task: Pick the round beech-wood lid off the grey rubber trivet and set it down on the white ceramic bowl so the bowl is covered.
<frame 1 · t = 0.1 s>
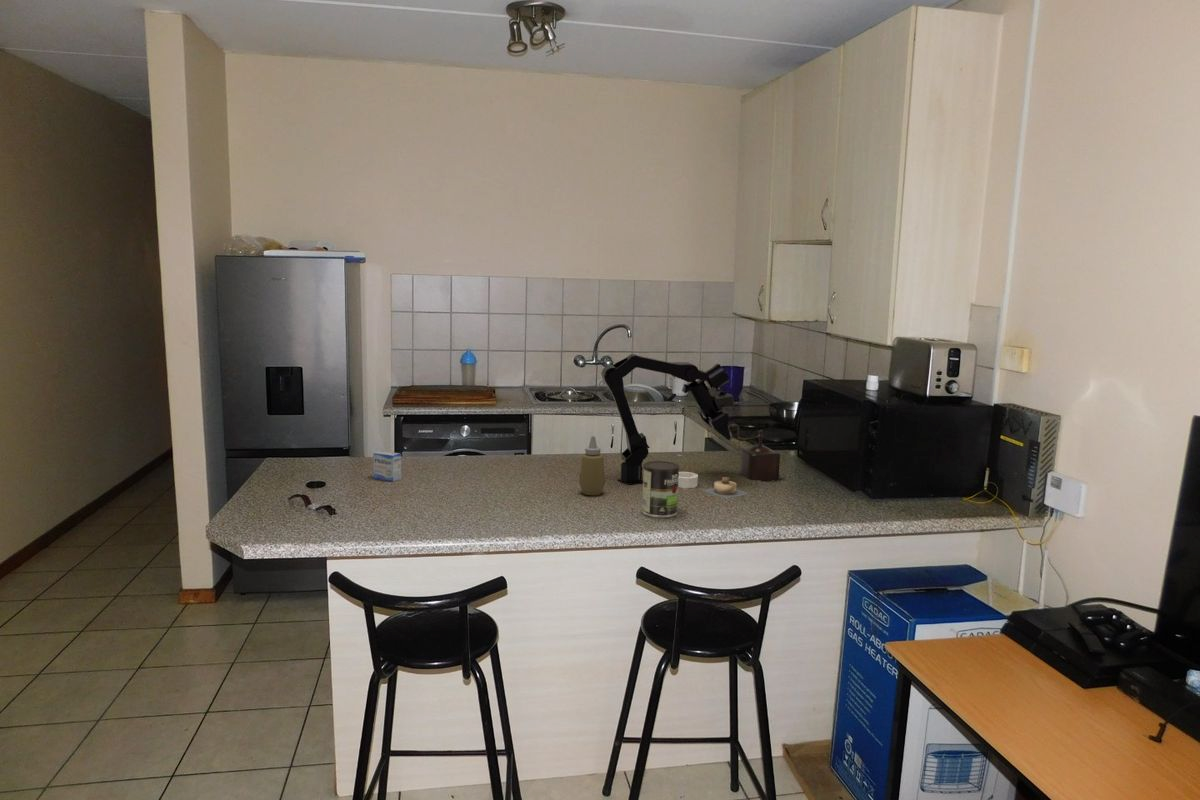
hand: (725, 436, 263), 15 cm above the worktop, tool tilted 30°, fingers open, 9 cm apart
bowl: (684, 487, 257), on the worktop
coffee can: (659, 513, 229), on the worktop
medicine box: (387, 479, 258), on the worktop
lid: (725, 492, 250), point 1 cm above the worktop, touching trivet
pepper mill: (751, 478, 270), on the worktop
trivet: (724, 493, 250), on the worktop
squeeze bottle: (591, 493, 247), on the worktop
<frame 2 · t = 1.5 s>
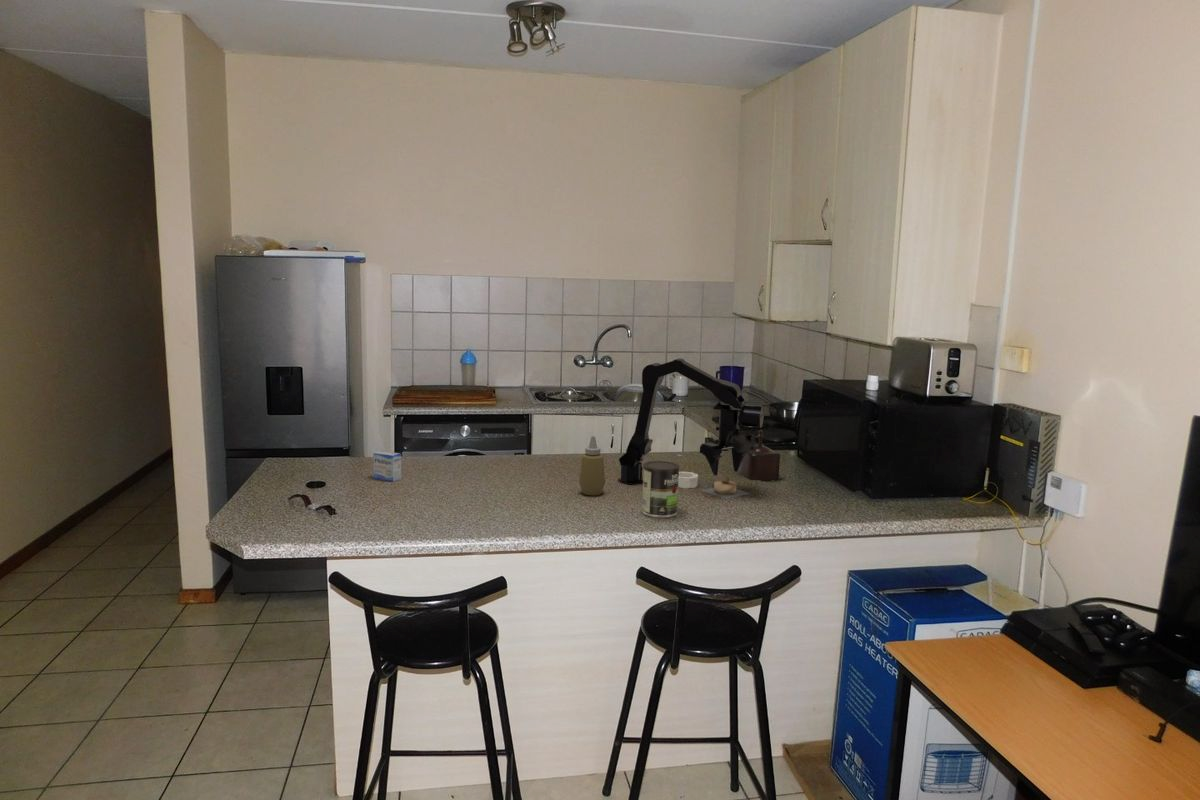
hand: (725, 473, 249), 7 cm above the worktop, tool pointing down, fingers open, 9 cm apart
nothing on the worktop moved.
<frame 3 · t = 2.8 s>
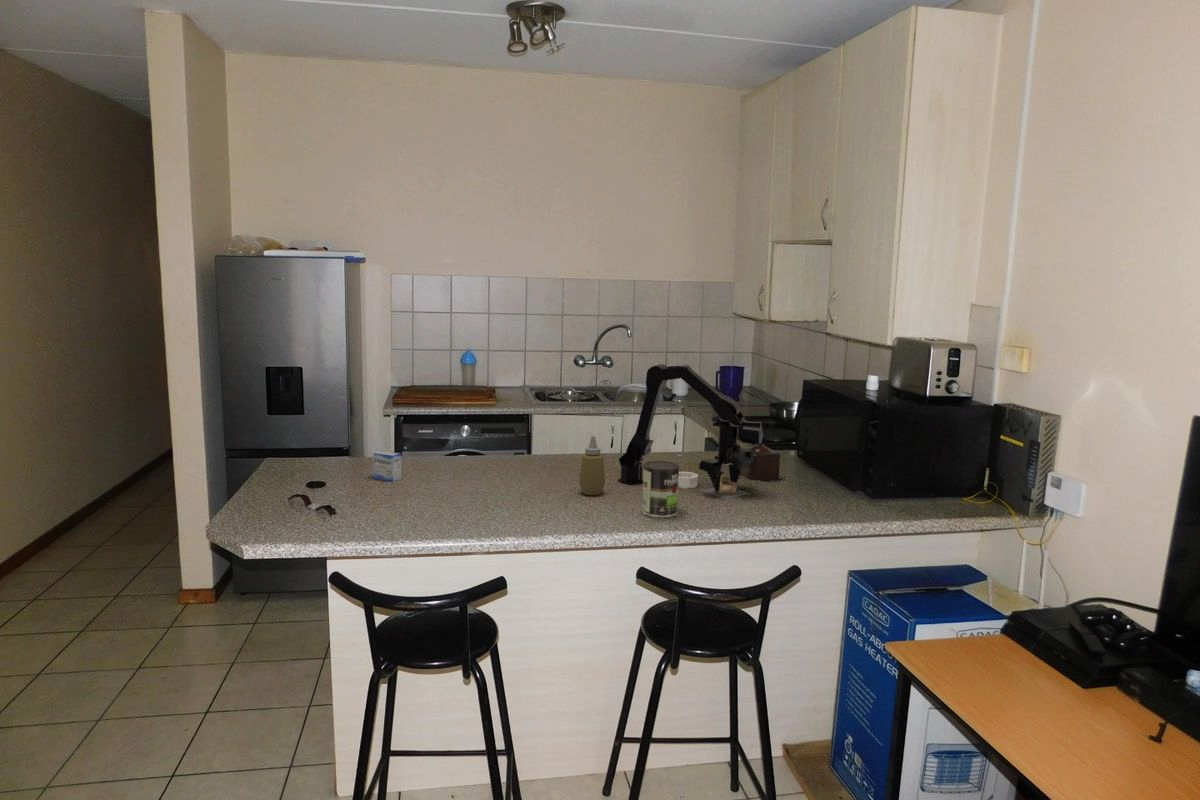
hand: (725, 489, 250), 1 cm above the worktop, tool pointing down, fingers closed on lid, 7 cm apart
lid: (725, 491, 250), point 1 cm above the worktop, touching gripper, trivet
everything else where it was.
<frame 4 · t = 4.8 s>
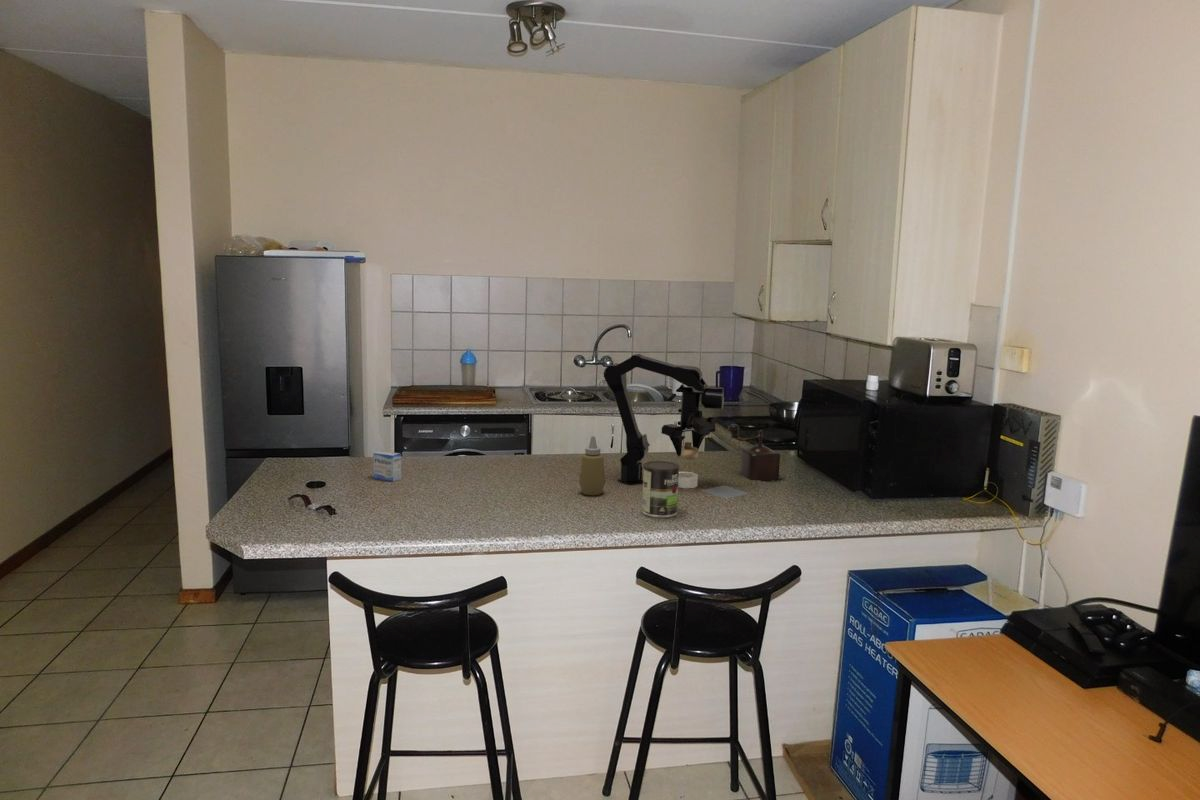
hand: (687, 454, 255), 11 cm above the worktop, tool pointing down, fingers closed on lid, 7 cm apart
lid: (687, 456, 255), point 10 cm above the worktop, touching gripper
everything else where it was.
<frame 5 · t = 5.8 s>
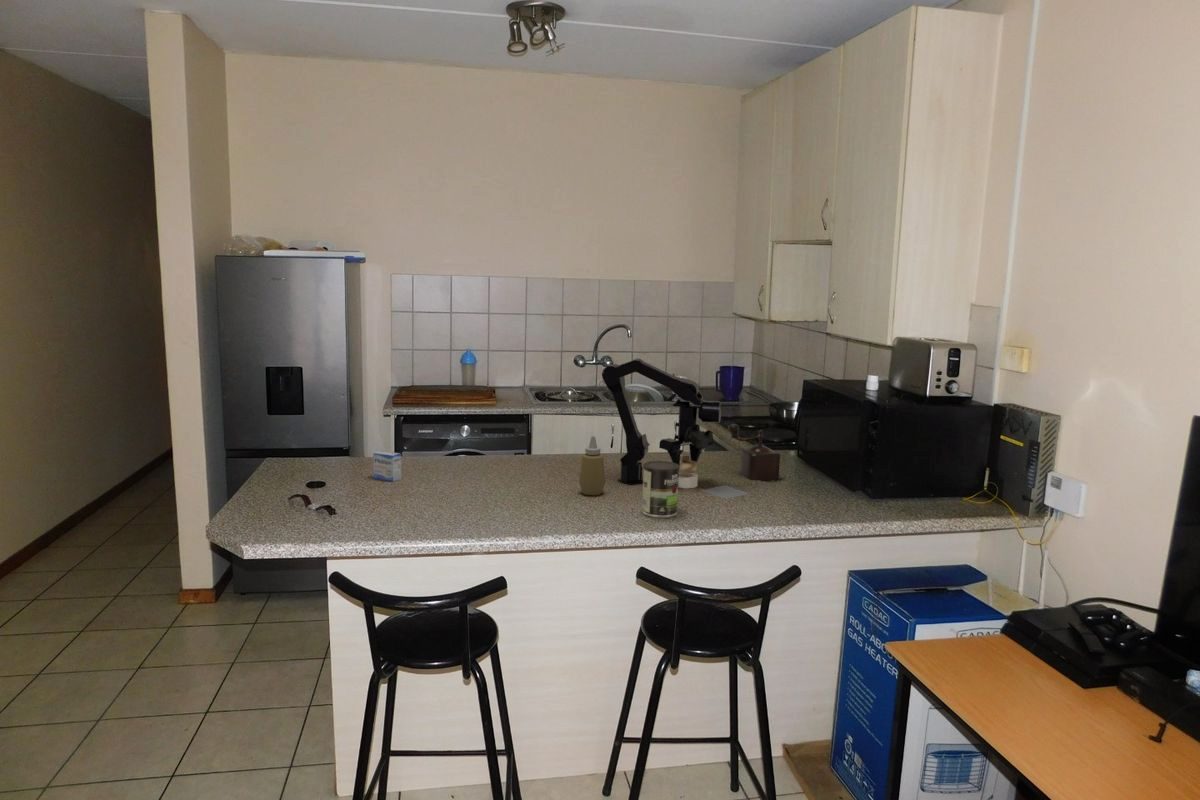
hand: (685, 468, 256), 6 cm above the worktop, tool pointing down, fingers closed on lid, 7 cm apart
lid: (685, 470, 256), point 5 cm above the worktop, touching gripper
everything else where it was.
when the fingers open (6 cm above the worktop, at t = 6.7 s): lid drops 1 cm, point 4 cm above the worktop.
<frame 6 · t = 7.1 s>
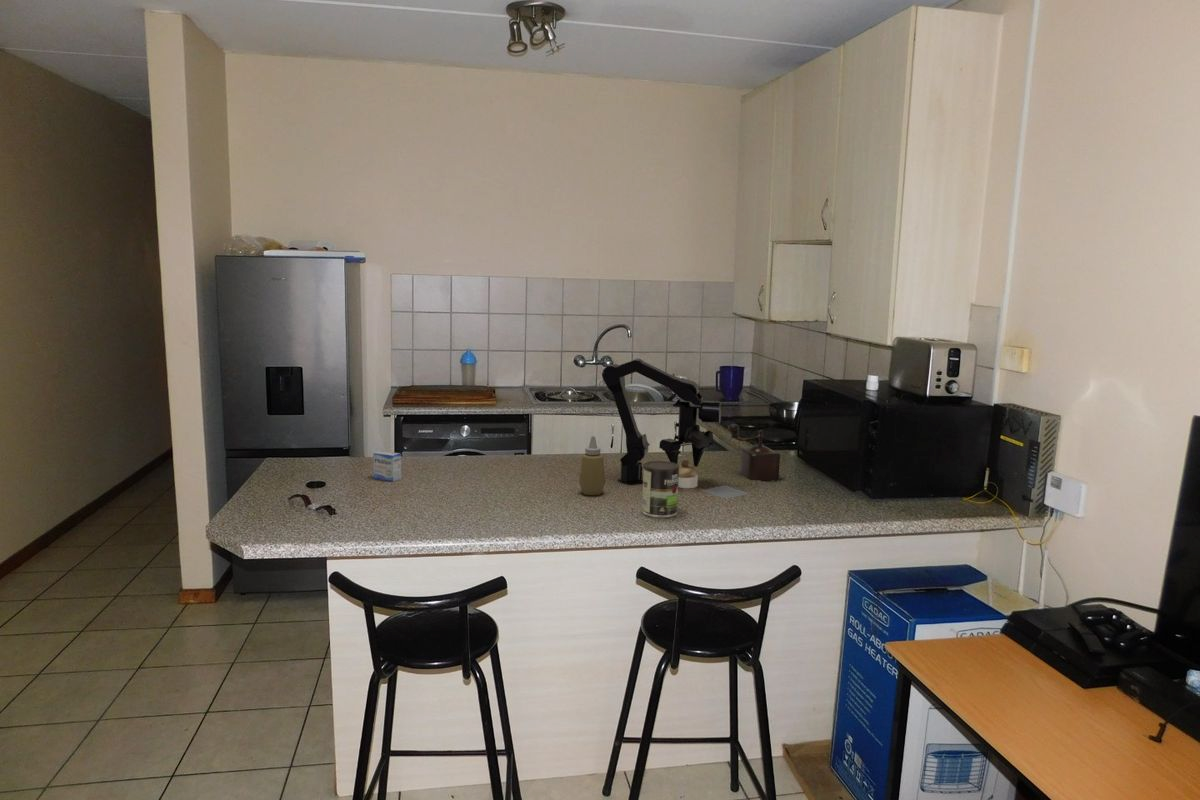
hand: (685, 468, 256), 6 cm above the worktop, tool pointing down, fingers open, 9 cm apart
lid: (684, 475, 256), point 4 cm above the worktop
everything else where it was.
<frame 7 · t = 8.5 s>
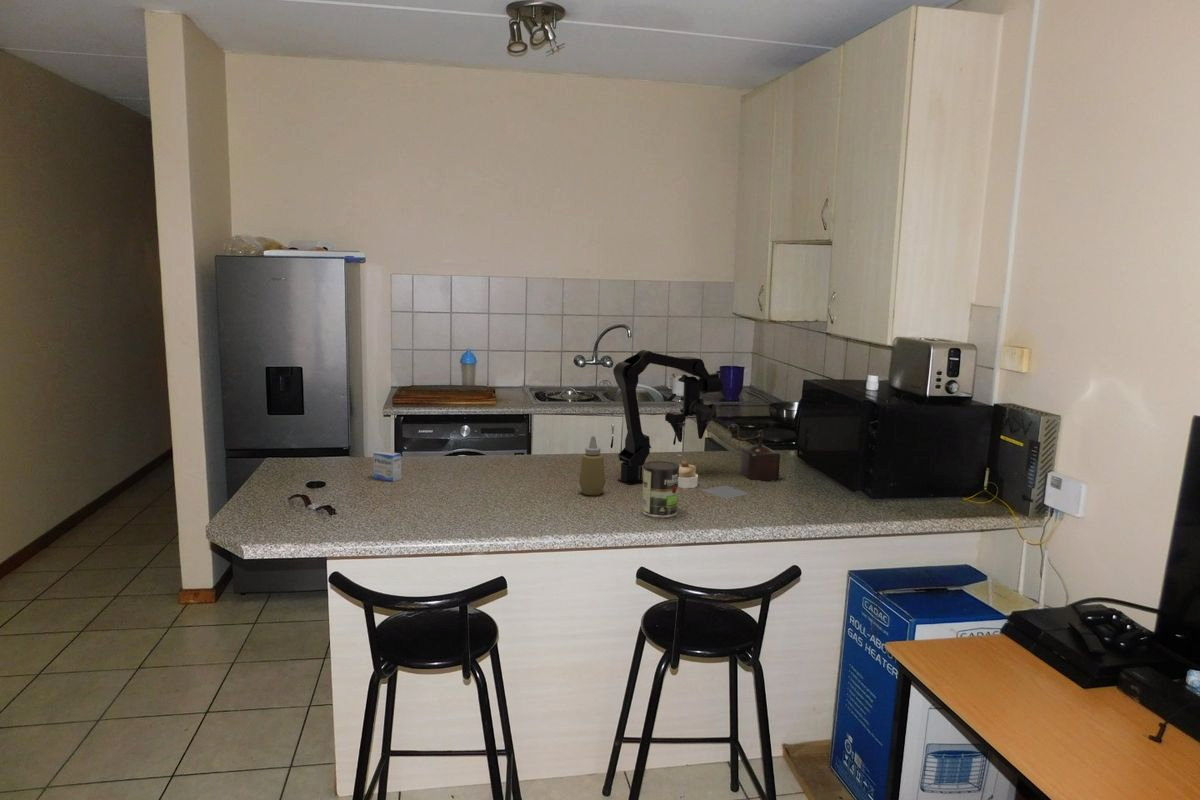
hand: (690, 440, 269), 12 cm above the worktop, tool pointing down, fingers open, 9 cm apart
bowl: (684, 486, 257), on the worktop, touching lid
lid: (684, 474, 256), point 4 cm above the worktop, touching bowl
everything else where it was.
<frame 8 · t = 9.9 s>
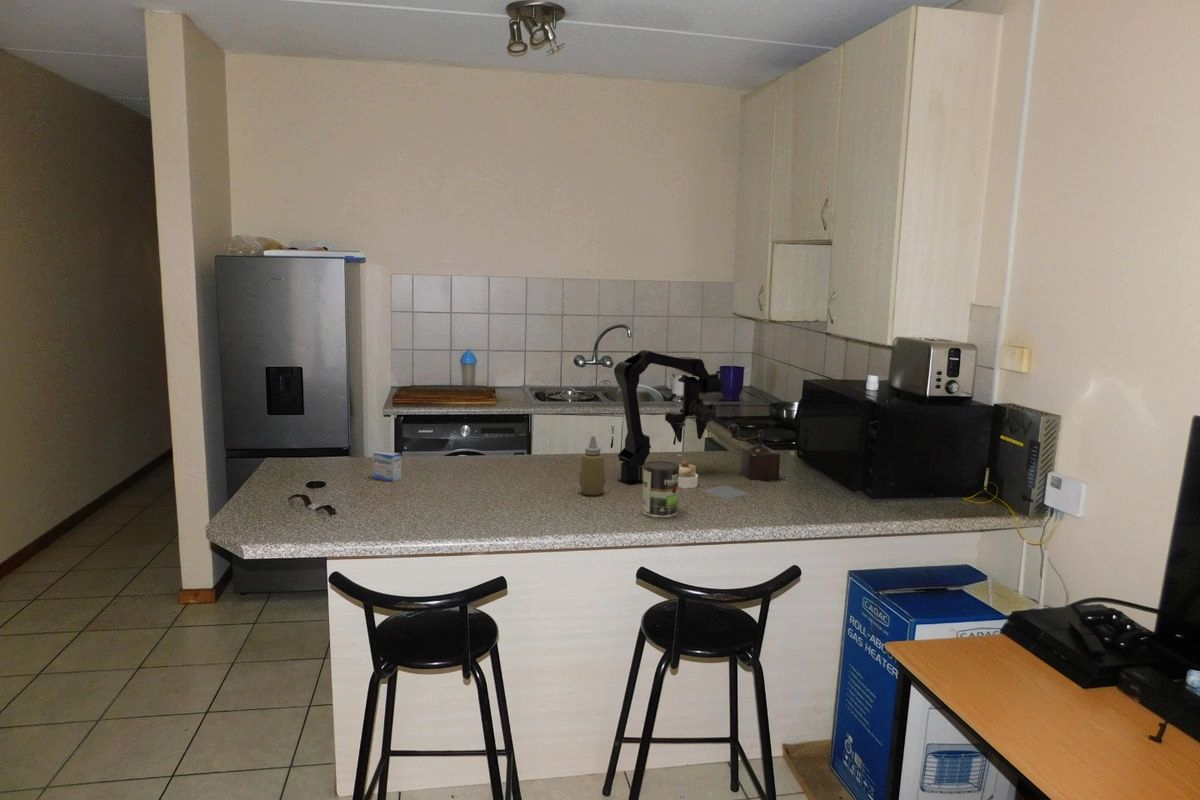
hand: (689, 440, 269), 12 cm above the worktop, tool pointing down, fingers open, 9 cm apart
bowl: (684, 486, 257), on the worktop
lid: (684, 474, 256), point 4 cm above the worktop
everything else where it was.
at the end: lid 0.2 cm off-centre on the bowl, point 4.0 cm above the bowl's base; lid tilted 0°; bowl moved 0.2 cm from its start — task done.
